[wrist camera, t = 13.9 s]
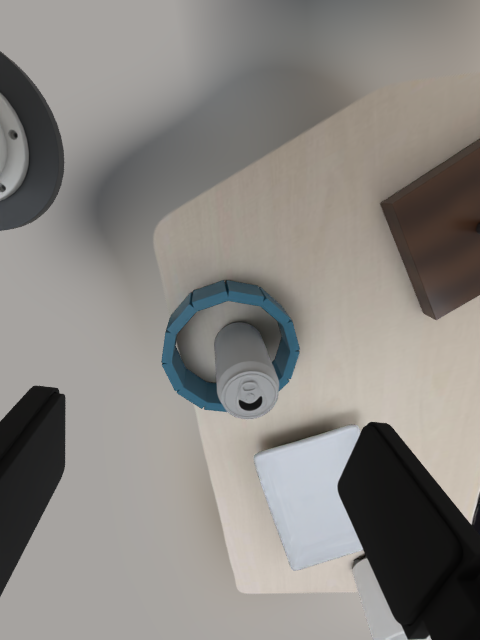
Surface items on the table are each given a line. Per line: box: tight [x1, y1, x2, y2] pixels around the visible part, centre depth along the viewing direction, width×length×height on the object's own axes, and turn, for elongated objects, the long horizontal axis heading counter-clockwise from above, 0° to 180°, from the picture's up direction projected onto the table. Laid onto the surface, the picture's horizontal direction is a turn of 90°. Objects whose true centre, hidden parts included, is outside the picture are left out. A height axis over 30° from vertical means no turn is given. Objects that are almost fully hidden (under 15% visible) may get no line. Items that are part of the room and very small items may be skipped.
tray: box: [254, 424, 363, 571], centre depth 51 cm, size 17×31×4 cm, turn 15°
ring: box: [162, 280, 300, 412], centre depth 37 cm, size 17×17×4 cm
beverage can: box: [215, 322, 279, 419], centre depth 34 cm, size 6×6×12 cm
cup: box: [352, 556, 430, 640], centre depth 58 cm, size 10×10×13 cm
